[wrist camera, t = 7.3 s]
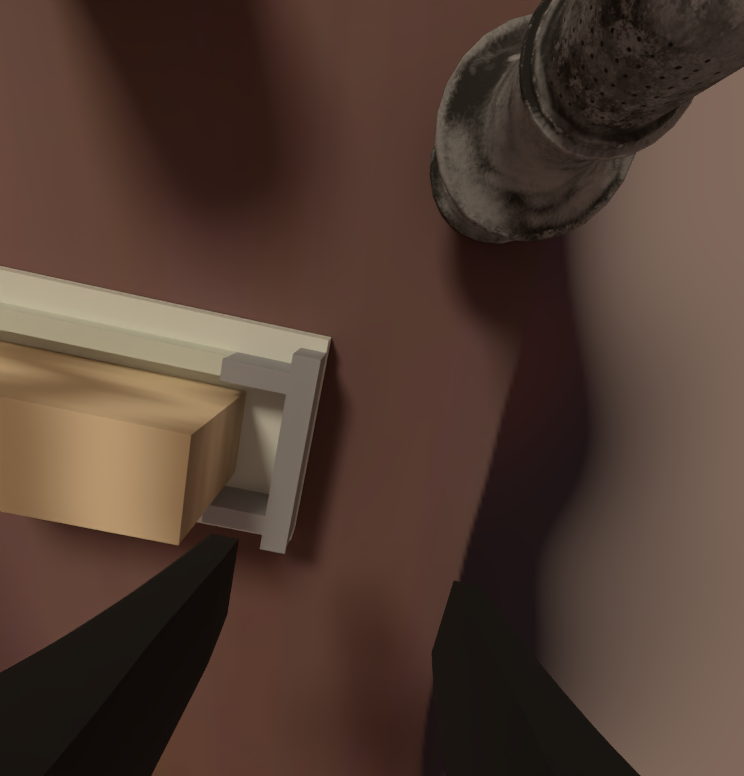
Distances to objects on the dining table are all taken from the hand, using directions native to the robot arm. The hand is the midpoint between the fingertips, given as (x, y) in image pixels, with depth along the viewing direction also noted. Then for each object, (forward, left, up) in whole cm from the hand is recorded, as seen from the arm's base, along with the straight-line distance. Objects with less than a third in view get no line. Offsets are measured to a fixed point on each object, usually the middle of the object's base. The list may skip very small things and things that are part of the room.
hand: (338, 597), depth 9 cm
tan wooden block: (-10, 0, -8) cm, 13 cm away
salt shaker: (+3, +12, -9) cm, 15 cm away
